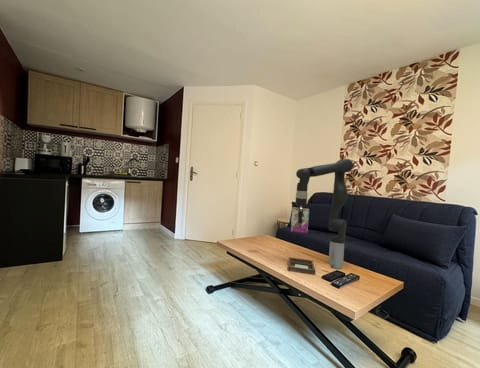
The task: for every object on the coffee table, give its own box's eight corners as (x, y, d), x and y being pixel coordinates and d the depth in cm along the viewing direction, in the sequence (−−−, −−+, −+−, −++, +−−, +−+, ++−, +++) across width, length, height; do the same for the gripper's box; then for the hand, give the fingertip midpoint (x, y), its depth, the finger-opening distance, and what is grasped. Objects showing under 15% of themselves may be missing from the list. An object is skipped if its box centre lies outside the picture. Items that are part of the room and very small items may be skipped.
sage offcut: (295, 267, 149) (295, 264, 149) (307, 269, 147) (307, 266, 147) (294, 270, 143) (294, 267, 143) (307, 272, 141) (307, 269, 141)
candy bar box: (290, 231, 155) (291, 207, 156) (291, 230, 160) (292, 207, 160) (307, 233, 151) (308, 209, 152) (307, 232, 156) (309, 208, 156)
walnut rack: (288, 263, 160) (288, 257, 160) (312, 266, 156) (312, 260, 156) (287, 273, 141) (288, 266, 141) (314, 277, 138) (315, 270, 138)
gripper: (295, 196, 163) (293, 220, 163) (296, 197, 149) (294, 223, 149) (306, 197, 162) (304, 221, 162) (307, 198, 148) (306, 224, 148)
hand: (299, 222), depth 156 cm, fingers closed on candy bar box, 5 cm apart
